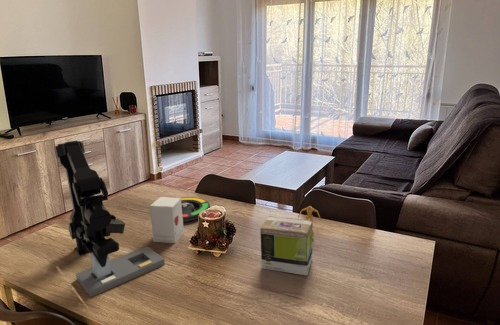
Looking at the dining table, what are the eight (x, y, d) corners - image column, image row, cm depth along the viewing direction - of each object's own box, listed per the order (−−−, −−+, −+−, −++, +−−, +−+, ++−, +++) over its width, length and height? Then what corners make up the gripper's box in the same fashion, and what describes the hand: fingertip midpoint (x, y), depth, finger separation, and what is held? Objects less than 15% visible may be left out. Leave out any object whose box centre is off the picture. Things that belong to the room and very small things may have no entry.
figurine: (296, 239, 134) (296, 209, 130) (298, 231, 139) (299, 203, 136) (319, 241, 132) (320, 211, 128) (320, 233, 137) (321, 204, 134)
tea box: (312, 260, 120) (313, 219, 116) (307, 277, 111) (308, 233, 106) (269, 253, 125) (268, 214, 120) (260, 269, 115) (259, 227, 111)
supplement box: (175, 244, 132) (172, 207, 128) (153, 242, 134) (148, 205, 130) (184, 233, 141) (181, 197, 136) (163, 231, 142) (159, 196, 138)
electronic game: (201, 200, 174) (201, 190, 173) (217, 218, 154) (216, 207, 153) (153, 208, 165) (152, 199, 164) (163, 229, 145) (162, 218, 144)
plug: (93, 273, 111) (89, 251, 109) (106, 268, 114) (102, 246, 111) (98, 278, 108) (94, 256, 106) (111, 273, 111) (107, 251, 109)
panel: (77, 280, 112) (75, 272, 111) (147, 252, 127) (146, 245, 127) (90, 298, 103) (89, 290, 103) (164, 265, 119) (164, 258, 118)
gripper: (133, 218, 104) (139, 265, 108) (107, 200, 117) (114, 243, 122) (94, 230, 97) (102, 281, 101) (71, 211, 110) (80, 256, 115)
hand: (100, 263), depth 110 cm, fingers closed on plug, 4 cm apart
